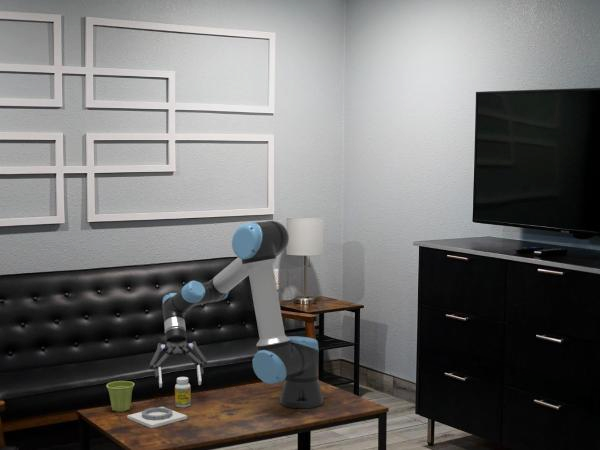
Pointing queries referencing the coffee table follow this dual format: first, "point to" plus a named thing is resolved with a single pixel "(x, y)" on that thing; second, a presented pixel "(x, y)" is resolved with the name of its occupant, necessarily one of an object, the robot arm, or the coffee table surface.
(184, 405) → the supplement bottle
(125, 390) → the plant pot
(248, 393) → the coffee table surface
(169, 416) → the socket
